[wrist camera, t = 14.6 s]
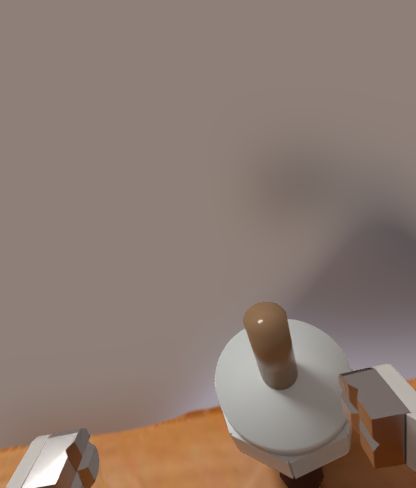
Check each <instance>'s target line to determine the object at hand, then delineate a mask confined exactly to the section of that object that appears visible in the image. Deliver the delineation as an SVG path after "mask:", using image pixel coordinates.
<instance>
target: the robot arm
mask: <svg viewBox="0 0 416 488" xmlns="http://www.w3.org/2000/svg"><path fill="white" fill-rule="evenodd" d="M338 379H339V385H340V387H341V388H342V390H343V392H342V393H341V395H340V398H341V404H342V408H343V411H344V414H345V416H346V418H347V421H348V423H349V424H350V426H351V428H352V430H354V431H355V432H357V433H358V434H360V442H361V446H362V448H363V449H364V451H365V453H366V455H367V456H368V458H369V460H370V462H371V463H372V465H373V467H374V469H377V468H383V467H389V466H395V465H402V464H407V466H408V467H409V468H410V469H412V470H413V471H414V472H416V391H415V390H414V389H413V388H412V387H411V385H410V384H409V383H408V382H407V381H406V380H405V379H404V378H403V377H402V376H401V375H400V374H399V373H398V372H397V370H395V368H394V367H393V366H392V365H390V364H384V365H379V366H375V367H371V368H365V369H361V370H356V371H352V372H347V373H343V374H339V377H338ZM89 438H90V434H89V433H88V431H87V429H86V428H84V429H83V428H82V429H76V430H71V431H65V432H59V433H54V434H50V435H45V436H40V437H37V438H36V439H35V440H34V441H33V442H32V443H31V445H30V447H29V448H28V450H27V452H26V454H25V455H24V457H23V459H22V460H21V462H20V464H19V466H18V467H17V469H16V471H15V473H14V474H13V476H12V478H11V480H10V481H9V483H8V485H7V486H6V488H90V487H91V486H92V485H93V484H94V482H95V480H96V477H97V474H98V469H99V455H98V451H97V449H96V446H95V445H93V444H91V443H90V442H88V441H89Z"/></svg>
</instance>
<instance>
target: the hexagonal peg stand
mask: <svg viewBox="0 0 416 488" xmlns="http://www.w3.org/2000/svg"><path fill="white" fill-rule="evenodd" d="M243 322H244V326H245V329H244V330H242V331H240V332H239V333H238V334H237V335H235V336H234V337H233V338H232V339H231V340H230V341H229V343H228V344H227V345H226V347H225V349H224V350H223V352H222V354H221V356H220V358H219V361H218V364H217V367H216V373H215V383H214V384H215V389H216V394H217V398H218V401H219V404H220V407H221V409H222V411H223V413H224V417H225V420H226V423H227V426H228V430H229V433H230V435H231V437H232V438H233V440H234V442H235V444H236V446H237V448H238V449H239V450H240V451H241V452H243V453H244V454H246V455H248V456H250V457H252V458H254V459H256V460H258V461H260V462H262V463H264V464H265V465H267V466H269V467H271V468H273V469H275V470H277V471H279V472H281V473H283V474H285V475H286V476H288V477H290V478H292V479H293V477H295V479H297V478H299V477H301V476H303V475H305V474H307V473H309V472H311V471H313V470H315V469H317V468H319V467H321V466H324V465H326V464H328V463H330V462H332V461H334V460H336V459H338V458H340V457H342V456H344V455H346V454H348V451H350V444H351V436H352V428H351V426H350V424H349V423H348V421H347V418H346V416H345V414H344V411H343V408H342V404H341V398H340V395H341V393H342V392H343V390H342V388H341V387H340V385H339V379H338V377H339V374H343V373H347V372H352V371H353V370H352V369H351V368H350V365H349V362H348V360H347V358H346V356H345V355H344V353H343V351H342V350H341V349H340V347H339V346H338V345H337V344H336V342H335V341H334V340H333V339H332V338H330V337H329V336H328V335H327V334H326V333H324V332H323V331H321V330H320V329H318V328H316V327H314V326H312V325H310V324H307V323H304V322H301V321H297V320H292V319H287V315H286V312H285V310H284V309H283V308H282V307H281V306H279V305H278V304H276V303H272V302H262V303H258V304H255V305H253V306H252V307H250V308H249V309H248V310H247V311H246V313H245V315H244V319H243Z"/></svg>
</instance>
